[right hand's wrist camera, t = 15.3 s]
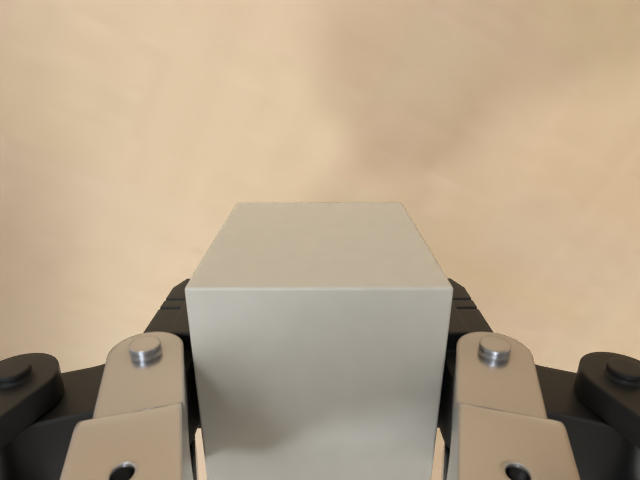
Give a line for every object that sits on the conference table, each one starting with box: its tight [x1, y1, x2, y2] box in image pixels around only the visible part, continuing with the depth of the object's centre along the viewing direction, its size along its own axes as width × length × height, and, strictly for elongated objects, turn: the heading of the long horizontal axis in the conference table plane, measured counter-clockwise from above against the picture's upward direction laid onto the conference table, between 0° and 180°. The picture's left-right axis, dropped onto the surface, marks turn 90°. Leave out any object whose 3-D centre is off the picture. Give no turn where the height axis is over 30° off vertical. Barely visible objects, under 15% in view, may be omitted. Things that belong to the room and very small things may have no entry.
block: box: [185, 203, 453, 480], centre depth 10 cm, size 5×4×5 cm
